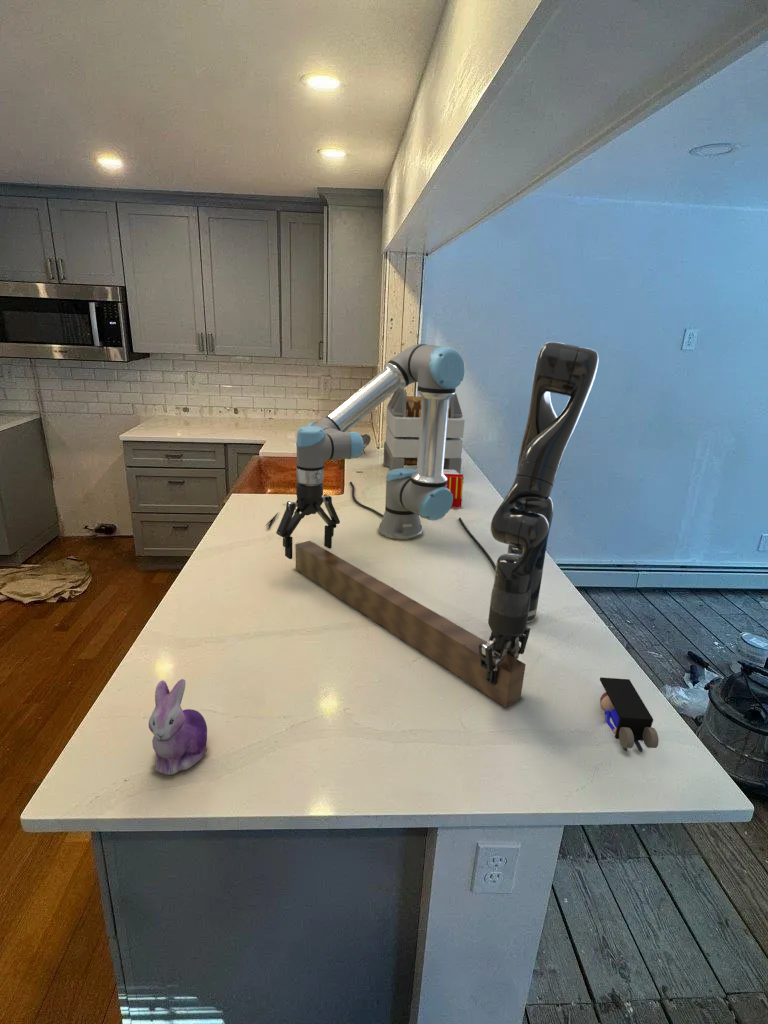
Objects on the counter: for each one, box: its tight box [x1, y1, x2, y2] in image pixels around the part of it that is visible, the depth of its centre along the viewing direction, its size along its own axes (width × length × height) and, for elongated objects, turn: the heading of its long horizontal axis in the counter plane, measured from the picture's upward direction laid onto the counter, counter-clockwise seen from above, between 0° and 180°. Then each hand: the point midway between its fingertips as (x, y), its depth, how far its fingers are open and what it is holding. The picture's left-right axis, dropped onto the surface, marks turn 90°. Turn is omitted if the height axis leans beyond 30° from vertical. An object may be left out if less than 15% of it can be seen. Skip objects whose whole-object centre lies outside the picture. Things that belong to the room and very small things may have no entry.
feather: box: [265, 512, 279, 530], centre depth 210 cm, size 2×28×2 cm
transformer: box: [383, 388, 465, 474], centre depth 268 cm, size 34×33×41 cm
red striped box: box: [443, 469, 464, 508], centre depth 240 cm, size 12×13×30 cm
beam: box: [294, 540, 526, 709], centre depth 142 cm, size 78×5×8 cm, turn 41°
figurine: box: [148, 678, 208, 776], centre depth 96 cm, size 9×10×15 cm
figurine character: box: [599, 676, 660, 753], centre depth 108 cm, size 7×8×15 cm
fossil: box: [360, 433, 372, 454], centre depth 305 cm, size 22×10×15 cm
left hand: (308, 552), depth 166 cm, fingers open, 13 cm apart
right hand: (499, 678), depth 117 cm, fingers closed on beam, 5 cm apart
